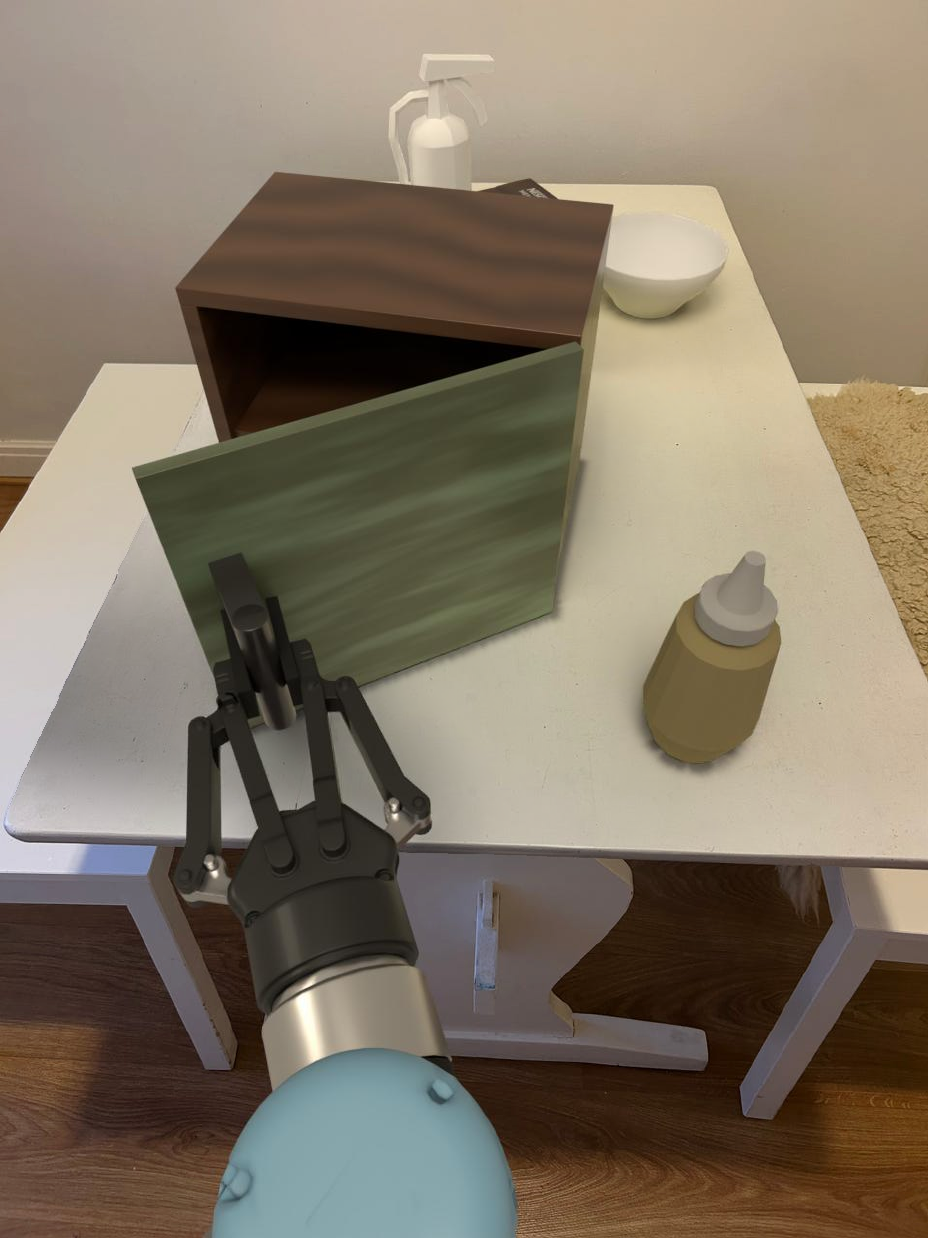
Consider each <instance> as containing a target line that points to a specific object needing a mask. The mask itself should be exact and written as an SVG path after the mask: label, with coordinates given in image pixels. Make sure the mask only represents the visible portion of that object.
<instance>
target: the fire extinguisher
mask: <svg viewBox="0 0 928 1238" xmlns="http://www.w3.org/2000/svg"><path fill="white" fill-rule="evenodd" d="M495 62H496V61H495V59H494V58H493V57H492V56H491V55H490V54H478V53H477V54H473V53H472V54H468V53H466V54H460V53H459V54H458V53H455V54H453V53H445V54H444V53H443V54H442V53H422V57H421V62H420V68H419V73H418V77H419V78H420V79H421V80H422V82H423V83H425V84H426V85H425V89H419V90H411V91H408V93H406V94H405V95H404V96H402V97H401V98H400V99H399V100H397V102H395V103H394V104H393V105H392V106H391V107H390V108H389V115H388V116H389V118H388V135H387V136H388V137H387V139H388V142H389V145H390V149H391V153H392V157H393V159H394V163H395V166H396V170H397V175H398V181H399V184H407V185H417V186H428V187H438V188H448V189H459V190H469V191H473V187H472V186H473V185H472V161H471V159H472V154H471V131H470V129H469V127H468V125H467V123H466V121H465V119H463V118H461V117H460V116H458V115H457V114H454V113H452V112H450V106H449V102H448V96H447V90H446V84H445V81H446V82H447V83H449V84H450V85H452V86H453V87H454V88H455V89H456V90H457V91H459V92H460V93H461V94H462V95H463V97H465V99H466V100H467V101H468V102H469V104H470V105H471V107H472V111H473V113H474V116H475V120H476V122H477V124H478V125H479V127H480V128H481V127H483V125H484V124H486V122H487V121H488V120H489V119H488V114H487V111H486V107H485V106H484V105H485V104H484V102H483V100H482V98H481V97H480V95H479V94H478V92H477V91H476V90H475V89H474V87H473V86H472V85H471V83H469V81H468V80H466V79H465V77H470V76H479V75H486V74H493V73H495V72H496V66H495ZM420 102H424V114H422V115H420V116H419V117H417V118H416V119H413V121H412V123H411V126H410V129H409V131H408V135H407V136H408V137H407V140H406V142H407V143H406V145H407V155H408V166H409V168H408V167H407V164H406V161H405V158H404V155H403V151H402V148H401V144H400V142H399V114H400V113H401V112H402V111H404V110H405V109H406V108H407V107H409V106H410V105H411V104H413V103H420ZM407 168H408V169H409V175H408V169H407ZM409 178H410V179H409ZM409 180H410V183H409Z"/></svg>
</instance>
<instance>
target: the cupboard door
mask: <svg viewBox="0 0 928 1238" xmlns="http://www.w3.org/2000/svg"><path fill="white" fill-rule="evenodd" d="M583 354H584V349H583V348H582V347H581V346H580V345H579V344H578V343H577V342H572V343H568V344H565V345H561V346H558V347H554V348H551V349H547V350H544V351H540V352H537V353H533V354H530V355H526V356H523V357H519V358H516V359H512V360H508V361H505V362H501V363H498V364H494V365H491V366H487V367H484V368H480V369H477V370H473V371H470V372H466V373H463V374H459V375H456V376H452V377H449V378H445V379H442V380H438V381H435V382H431V383H428V384H424V385H421V386H417V387H413V388H410V389H406V390H403V391H399V392H396V393H392V394H389V395H385V396H382V397H378V398H375V399H371V400H368V401H364V402H361V403H357V404H354V405H350V406H347V407H343V408H340V409H336V410H333V411H329V412H326V413H322V414H319V415H315V416H311V417H308V418H304V419H301V420H297V421H294V422H290V423H287V424H283V425H280V426H276V427H273V428H269V429H266V430H262V431H259V432H255V433H252V434H248V435H245V436H241V437H238V438H234V439H231V440H227V441H224V442H220V443H219V442H217V443H213V444H211V445H206V446H203V447H199V448H196V449H192V450H189V451H185V452H182V453H178V454H174V455H171V456H167V457H163V458H160V459H157V460H153V461H150V462H147V463H143V464H140V465H136V466H133V467H131V470H132V471H131V472H132V474H133V476H134V479H135V481H136V484H137V486H138V490H139V492H140V494H141V497H142V499H143V502H144V504H145V508H146V510H147V512H148V515H149V517H150V520H151V522H152V525H153V527H154V530H155V532H156V534H157V538H158V541H159V542H160V545H161V548H162V550H163V553H164V555H165V558H166V560H167V563H168V565H169V567H170V571H171V573H172V576H173V578H174V580H175V584H176V585H177V588H178V591H179V593H180V595H181V598H182V601H183V604H184V606H185V608H186V610H187V613H188V616H189V618H190V621H191V623H192V626H193V628H194V631H195V633H196V636H197V638H198V642H199V644H200V646H201V649H202V651H203V653H204V657H205V659H206V661H207V664H208V666H209V669H210V672H211V674H212V677H213V679H214V680H215V678H214V673H213V668H214V665H215V663H216V662H220V661H223V660H227V659H230V654H229V649H228V644H227V639H226V635H225V630H224V625H223V620H222V615H221V611H220V610H222V609H225V611H226V614H227V616H228V619H229V621H230V624H231V626H232V629H233V631H234V634H235V636H236V639H237V641H238V644H239V646H240V649H241V652H242V655H243V658H244V661H245V664H246V667H247V670H248V673H249V676H250V679H251V682H252V685H253V688H254V690H255V695H256V699H257V704H258V708H259V713H260V716H259V717H255V718H251V719H248V724H249V726H250V729H253V728H254V727H256V726H260V725H262V724H264V723H265V725H266V726H267V728H269V729H271V730H274V731H283V730H287V729H288V728H290V727H292V725H293V724H295V721H296V719H297V711H298V710H301V709H304V708H303V704H301V705H298V706H294V707H293V703H292V700H291V696H290V693H289V689H288V686H287V682H286V679H285V675H284V671H283V667H282V663H281V659H280V654H279V650H278V647H277V643H276V639H275V636H274V632H273V628H272V624H271V620H270V616H269V612H268V608H267V604H266V600H265V599H266V598H270V597H274V596H277V597H278V600H279V604H280V608H281V612H282V615H283V619H284V623H285V627H286V630H287V634H288V638H289V641H290V642H294V641H298V640H301V639H305V638H306V639H307V640H308V642H309V643H310V644H311V647H312V650H313V654H314V657H315V661H316V664H317V668H318V671H319V674H320V676H321V677H322V678H323V679H325V680H328V681H336V680H337V679H338V678H340V677H343V676H349V677H351V678H353V679H354V680H355V682H356V684H357V686H358V687H360V686H363V685H366V684H369V683H371V682H373V681H376V680H379V679H382V678H384V677H386V676H389V675H392V674H394V673H398V672H400V671H402V670H405V669H407V668H410V667H413V666H415V665H418V664H420V663H423V662H425V661H428V660H431V659H434V658H436V657H438V656H441V655H444V654H446V653H449V652H451V651H454V650H457V649H459V648H462V647H464V646H467V645H470V644H472V643H475V642H477V641H480V640H482V639H485V638H487V637H490V636H493V635H497V634H498V633H501V632H503V631H506V630H509V629H511V628H514V627H516V626H519V625H522V624H524V623H527V622H529V621H532V620H535V619H538V618H540V617H542V616H545V615H547V614H550V613H552V612H553V607H554V599H555V598H554V597H555V590H556V582H557V575H558V568H557V566H558V567H559V563H558V558H559V550H560V542H561V534H562V525H563V517H564V509H565V501H566V493H567V485H568V476H569V468H570V460H571V452H572V444H573V435H574V427H575V419H576V411H577V403H578V395H579V386H580V378H581V370H582V362H583Z"/></svg>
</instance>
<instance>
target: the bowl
mask: <svg viewBox="0 0 928 1238" xmlns="http://www.w3.org/2000/svg"><path fill="white" fill-rule="evenodd" d="M729 252H730V250H729V246H728V243H727V240H726V239H725V238H724V237H723V236H722V235H721V233H720V232H719V231H717V230H715V229H714V228H713V227H711V226H710V225H708V224H705V223H703V222H702V221H700V220H697V219H694V218H691V217H687V216H684V215H680V214H675V213H669V212H661V211H635V212H624V213H621V214H616V215H612V221H611V229H610V237H609V244H608V252H607V259H606V267H605V274H604V282H603V290H604V291H605V292H606V293H607V294H608V296H609V297H610V298H611V299H612V302H613V304H614V305H615V307H616V308H618V310H620V311H621V312H623V313H624V314H625V315H626V314H627V315H629V316H632V317H635V318H639V319H649V320H651V319H652V320H653V319H662V318H665V317H668V316H670V315H671V314H674V313H675V312H676V311H677V310H678V309H679V308H680V307H682V306H684V304H686V303H687V302H689V301H691V300H692V299H693V298H695V297H697V296H698V295H700V294H701V293H703V292H704V291H705V290H706V289H708V287H709V286H710V285H711V284H713V282H715V280H716V279H717V278H718V277H719V276H720V274H721V272H722V271H723V270H724V268H725V265H726V262H727V260H728V256H729Z"/></svg>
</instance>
